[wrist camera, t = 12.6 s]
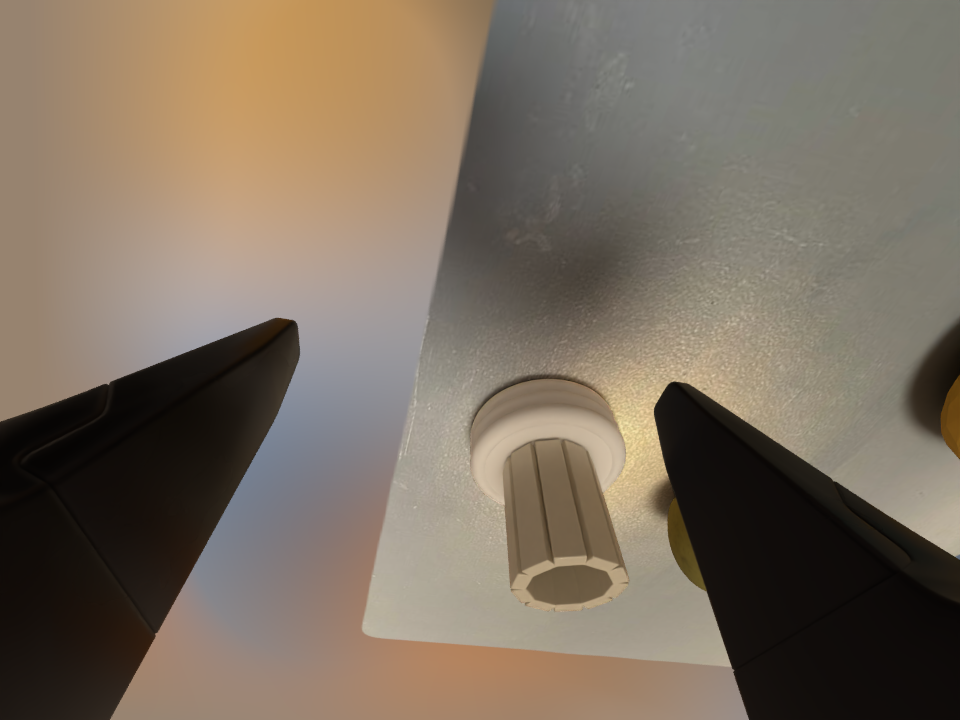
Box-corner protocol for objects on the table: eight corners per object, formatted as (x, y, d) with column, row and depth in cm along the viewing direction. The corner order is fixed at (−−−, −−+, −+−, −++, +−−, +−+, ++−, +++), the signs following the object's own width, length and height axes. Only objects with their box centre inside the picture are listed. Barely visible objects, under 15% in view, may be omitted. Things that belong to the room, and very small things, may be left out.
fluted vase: (494, 492, 26) (500, 608, 20) (516, 433, 23) (530, 551, 17) (574, 501, 27) (601, 616, 21) (606, 445, 23) (648, 562, 18)
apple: (686, 453, 29) (738, 545, 23) (773, 473, 31) (842, 564, 25) (633, 510, 33) (667, 600, 28) (712, 525, 35) (760, 614, 29)
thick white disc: (583, 481, 31) (594, 522, 28) (460, 467, 30) (458, 508, 27) (636, 386, 25) (656, 425, 22) (485, 364, 24) (487, 402, 21)
